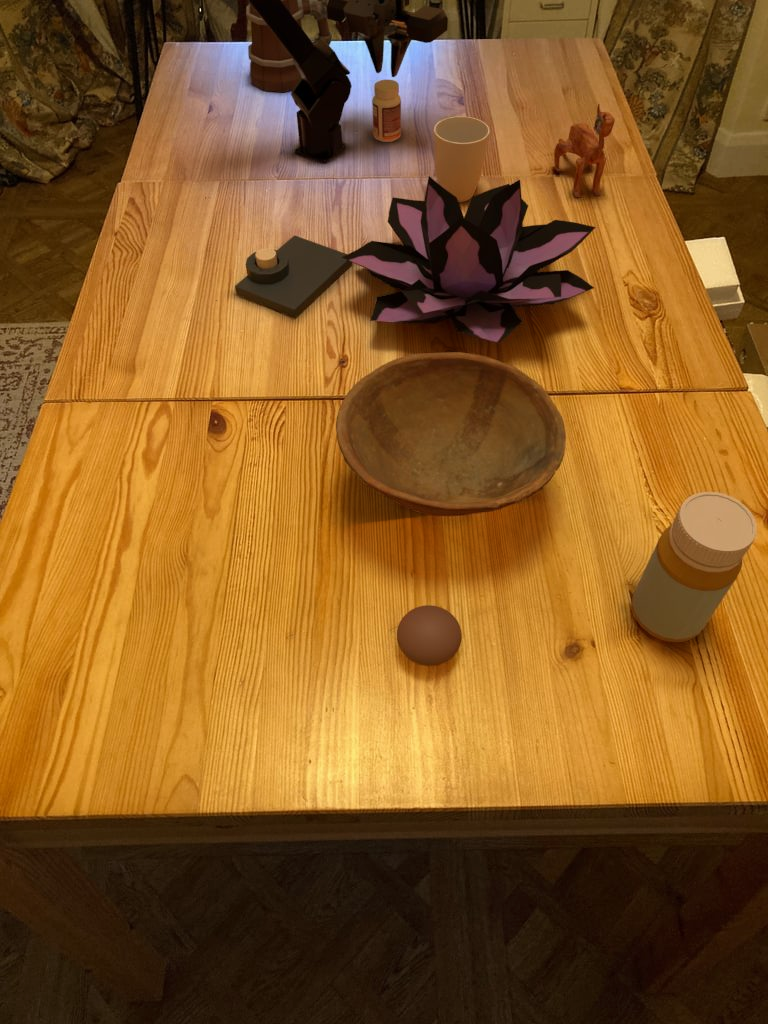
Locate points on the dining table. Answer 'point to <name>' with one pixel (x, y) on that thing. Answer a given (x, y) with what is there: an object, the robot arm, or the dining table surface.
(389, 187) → the dining table surface
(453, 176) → the cup
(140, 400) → the dining table surface
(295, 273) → the dark flat slab piece
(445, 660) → the brown flattened ball
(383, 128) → the pill bottle
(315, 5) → the mug
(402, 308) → the decorative flower
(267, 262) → the button
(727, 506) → the bottle
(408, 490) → the bowl
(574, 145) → the orange animal figurine
